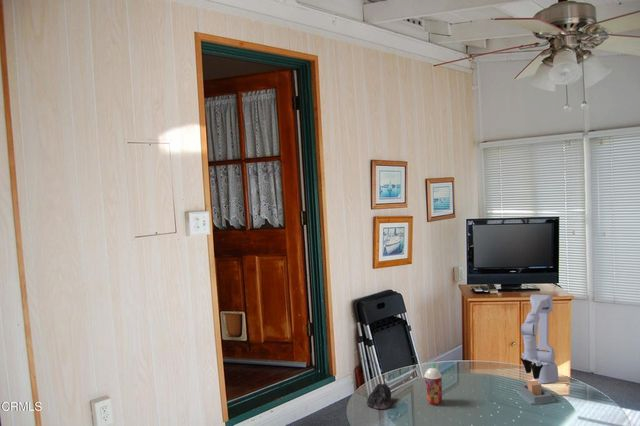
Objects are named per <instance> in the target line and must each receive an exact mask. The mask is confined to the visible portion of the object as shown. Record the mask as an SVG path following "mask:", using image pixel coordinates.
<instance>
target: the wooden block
mask: <svg viewBox="0 0 640 426" xmlns="http://www.w3.org/2000/svg"><path fill="white" fill-rule="evenodd" d="M526 384H527V386H528V390H529V391H530V392H532V393H533V394H534V395H535V396H538V395H542V393H541V388H542V383H540V382H539V381H537V380H533V381H532V380H531V381H527V382H526Z"/></svg>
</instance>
